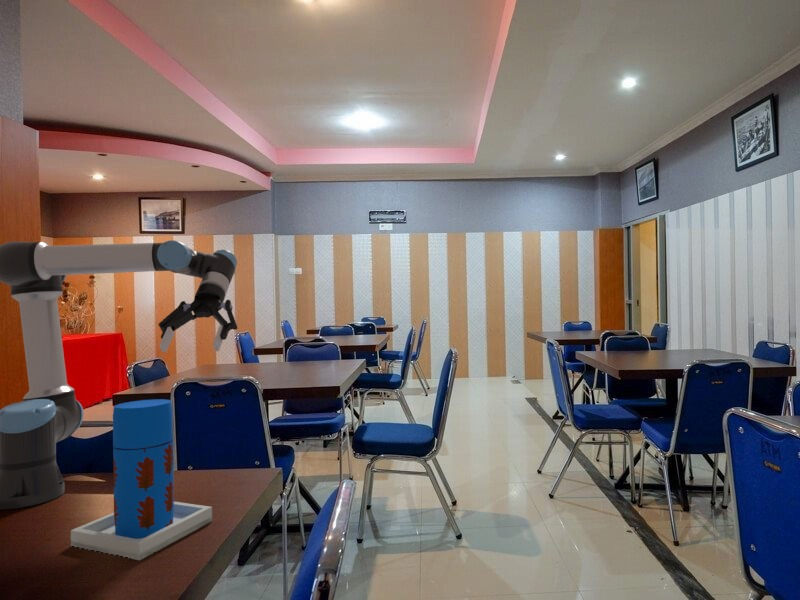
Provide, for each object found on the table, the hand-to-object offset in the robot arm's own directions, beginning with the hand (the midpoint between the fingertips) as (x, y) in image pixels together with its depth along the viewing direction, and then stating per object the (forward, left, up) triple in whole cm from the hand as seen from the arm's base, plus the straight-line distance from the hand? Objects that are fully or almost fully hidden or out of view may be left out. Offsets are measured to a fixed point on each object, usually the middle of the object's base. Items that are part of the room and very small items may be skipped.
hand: (189, 348), depth 126 cm
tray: (+9, -22, -36) cm, 43 cm away
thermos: (+9, -22, -35) cm, 42 cm away
